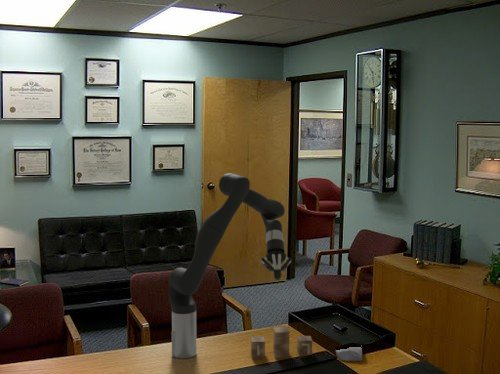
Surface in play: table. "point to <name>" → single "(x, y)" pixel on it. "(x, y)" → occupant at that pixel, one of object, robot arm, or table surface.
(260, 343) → the block one
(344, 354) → the stone block
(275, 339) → the plain pillar
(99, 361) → the table surface
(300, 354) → the block seven
